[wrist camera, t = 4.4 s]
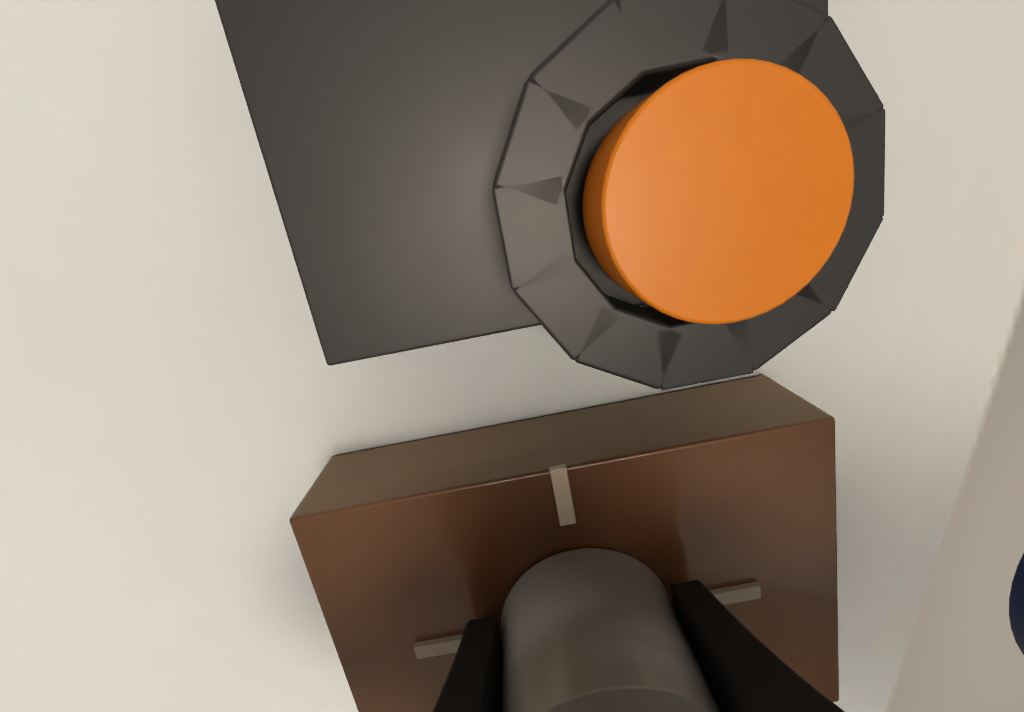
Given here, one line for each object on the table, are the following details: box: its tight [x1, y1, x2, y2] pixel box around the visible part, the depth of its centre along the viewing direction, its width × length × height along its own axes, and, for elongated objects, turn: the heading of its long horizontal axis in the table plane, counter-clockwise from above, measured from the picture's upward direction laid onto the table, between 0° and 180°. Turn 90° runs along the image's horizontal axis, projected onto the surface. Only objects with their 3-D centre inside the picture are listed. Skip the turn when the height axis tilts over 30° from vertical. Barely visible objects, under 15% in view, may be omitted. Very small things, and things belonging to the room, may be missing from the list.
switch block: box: [215, 0, 885, 390], centre depth 10 cm, size 11×9×4 cm
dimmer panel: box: [290, 375, 839, 712], centre depth 13 cm, size 12×8×3 cm
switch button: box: [582, 59, 854, 324], centre depth 8 cm, size 4×4×2 cm
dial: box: [501, 548, 720, 712], centre depth 10 cm, size 4×4×4 cm
